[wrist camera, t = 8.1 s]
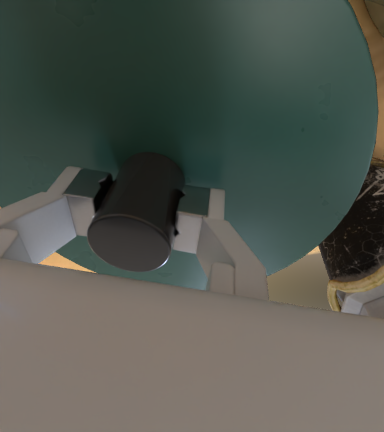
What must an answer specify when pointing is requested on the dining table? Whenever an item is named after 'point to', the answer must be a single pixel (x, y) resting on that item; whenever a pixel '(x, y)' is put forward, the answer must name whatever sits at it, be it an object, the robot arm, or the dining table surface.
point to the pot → (376, 13)
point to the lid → (188, 120)
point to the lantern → (359, 251)
